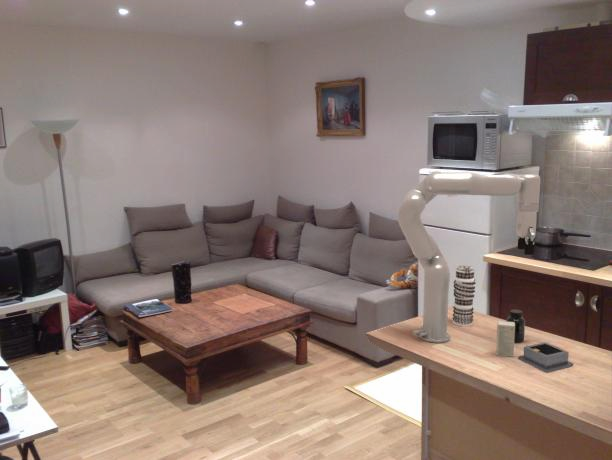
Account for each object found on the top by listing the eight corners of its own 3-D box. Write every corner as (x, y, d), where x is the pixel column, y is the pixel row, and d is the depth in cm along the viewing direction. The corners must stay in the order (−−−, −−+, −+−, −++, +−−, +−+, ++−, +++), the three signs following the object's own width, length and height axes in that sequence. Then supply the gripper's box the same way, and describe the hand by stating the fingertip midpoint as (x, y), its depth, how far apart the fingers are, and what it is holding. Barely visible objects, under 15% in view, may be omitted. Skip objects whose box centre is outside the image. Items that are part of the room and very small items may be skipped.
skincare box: (513, 353, 210) (515, 322, 207) (513, 357, 205) (515, 325, 203) (495, 350, 212) (497, 320, 210) (495, 355, 208) (497, 324, 205)
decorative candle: (477, 322, 243) (479, 266, 239) (468, 327, 236) (471, 270, 232) (457, 317, 249) (459, 263, 245) (448, 323, 242) (450, 267, 238)
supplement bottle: (521, 337, 225) (523, 308, 223) (526, 343, 219) (528, 314, 217) (503, 336, 226) (505, 308, 224) (508, 343, 219) (509, 313, 217)
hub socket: (546, 372, 192) (547, 357, 191) (517, 359, 204) (518, 344, 203) (573, 366, 198) (574, 351, 197) (543, 353, 209) (544, 338, 208)
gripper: (511, 204, 219) (509, 247, 222) (523, 210, 202) (521, 256, 205) (531, 204, 218) (529, 247, 221) (545, 210, 201) (542, 256, 204)
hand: (525, 251), depth 213 cm, fingers open, 9 cm apart
